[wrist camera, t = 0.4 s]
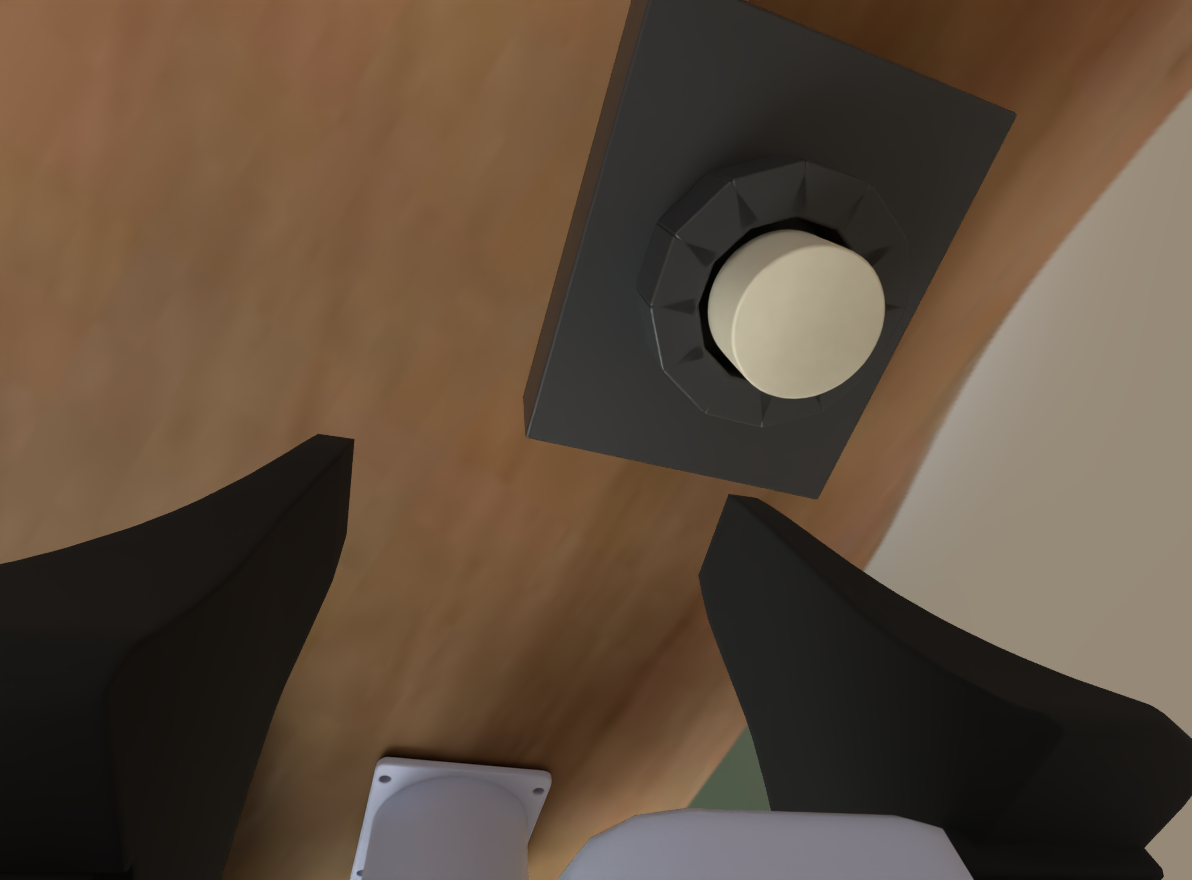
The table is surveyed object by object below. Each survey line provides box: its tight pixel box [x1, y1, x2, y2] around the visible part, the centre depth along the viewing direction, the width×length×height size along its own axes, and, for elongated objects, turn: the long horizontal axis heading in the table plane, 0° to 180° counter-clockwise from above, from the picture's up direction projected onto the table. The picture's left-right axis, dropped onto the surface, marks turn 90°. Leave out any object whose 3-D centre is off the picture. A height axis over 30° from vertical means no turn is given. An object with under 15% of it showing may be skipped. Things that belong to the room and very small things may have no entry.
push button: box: [708, 229, 885, 399], centre depth 15 cm, size 4×4×2 cm
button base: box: [523, 0, 1017, 499], centre depth 18 cm, size 12×10×5 cm
